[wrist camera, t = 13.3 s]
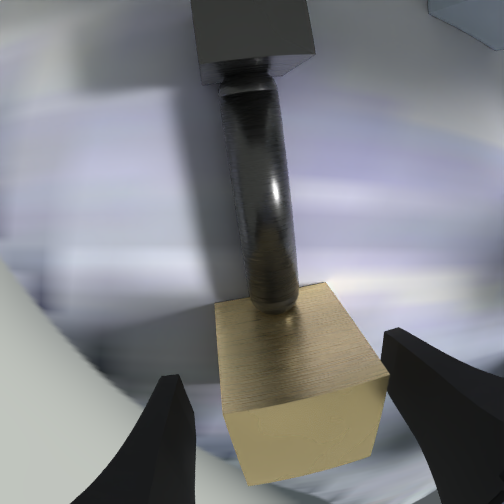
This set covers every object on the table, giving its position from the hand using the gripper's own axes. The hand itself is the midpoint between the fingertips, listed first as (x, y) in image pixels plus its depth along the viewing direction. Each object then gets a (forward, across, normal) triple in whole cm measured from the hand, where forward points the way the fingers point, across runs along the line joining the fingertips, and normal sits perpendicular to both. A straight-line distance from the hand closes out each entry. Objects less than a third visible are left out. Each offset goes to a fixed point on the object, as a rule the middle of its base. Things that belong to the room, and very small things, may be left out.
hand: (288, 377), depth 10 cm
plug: (+2, 0, -5) cm, 5 cm away
